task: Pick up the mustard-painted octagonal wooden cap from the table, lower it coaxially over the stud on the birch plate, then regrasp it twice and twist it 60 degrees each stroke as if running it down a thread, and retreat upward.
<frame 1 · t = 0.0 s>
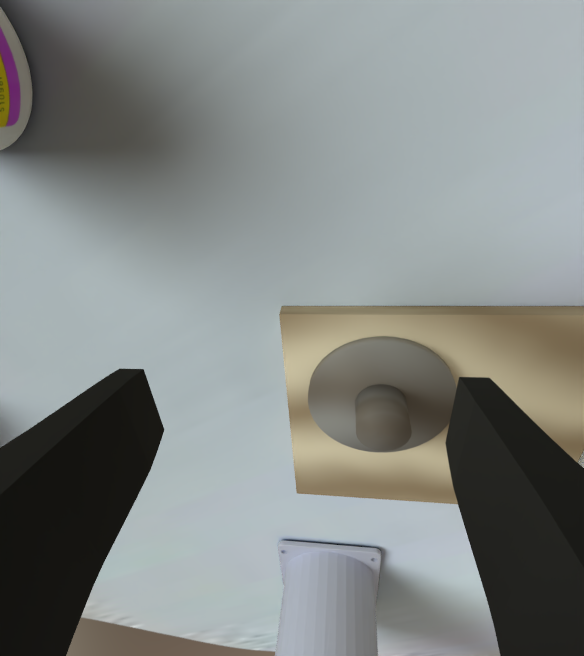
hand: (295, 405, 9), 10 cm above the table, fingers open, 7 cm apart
stud plate: (430, 414, 22), on the table
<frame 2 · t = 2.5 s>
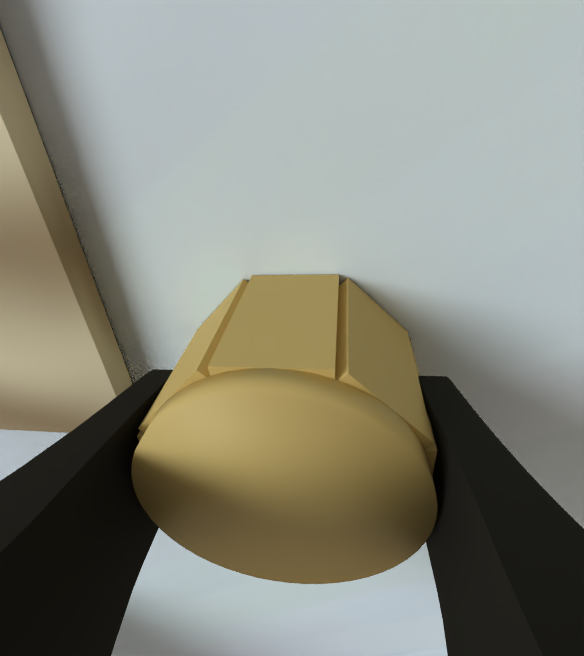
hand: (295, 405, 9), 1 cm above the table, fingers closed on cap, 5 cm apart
cap: (301, 368, 10), on the table, touching gripper
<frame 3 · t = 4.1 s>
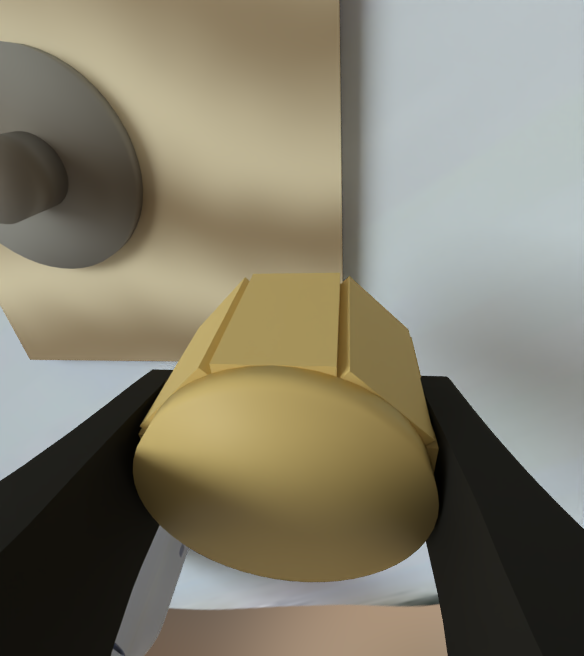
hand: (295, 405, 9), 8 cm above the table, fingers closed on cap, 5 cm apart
stud plate: (143, 211, 16), on the table
cap: (302, 366, 10), point 7 cm above the table, touching gripper
when the fingers open (4 cm above the table, at t = 6.1 s): cap drops 1 cm, resting on stud plate.
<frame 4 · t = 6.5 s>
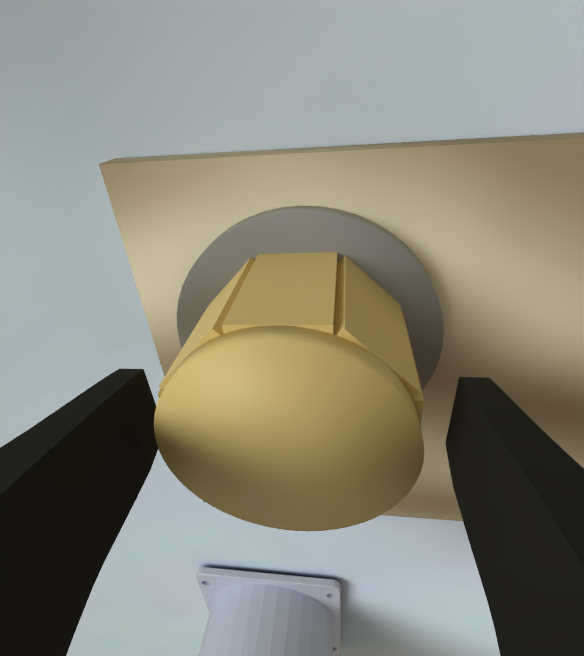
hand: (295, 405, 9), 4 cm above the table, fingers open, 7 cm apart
stud plate: (400, 370, 13), on the table
cap: (303, 341, 11), point 1 cm above the table, touching stud plate
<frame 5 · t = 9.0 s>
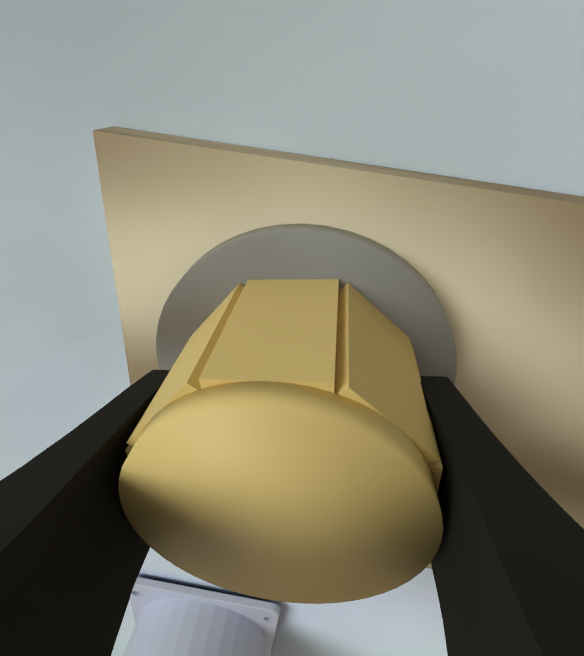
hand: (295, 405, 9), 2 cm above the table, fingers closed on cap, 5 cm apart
stud plate: (391, 412, 12), on the table
cap: (299, 375, 10), point 1 cm above the table, touching gripper
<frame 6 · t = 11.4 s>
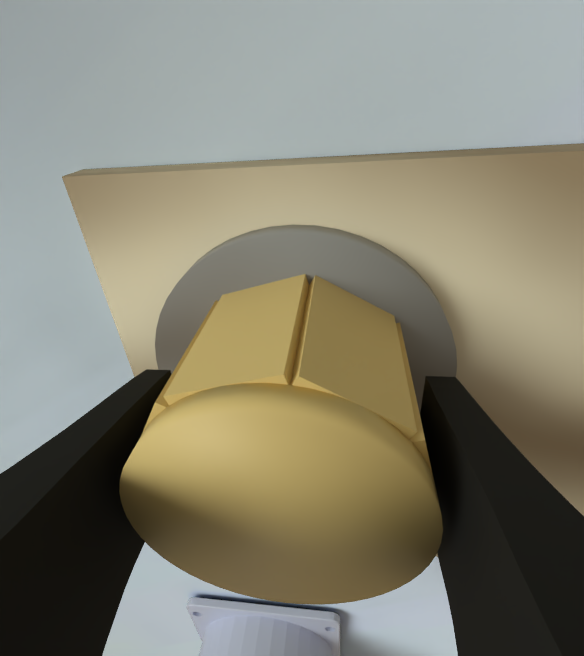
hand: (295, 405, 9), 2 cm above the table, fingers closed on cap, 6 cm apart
stud plate: (406, 402, 12), on the table
cap: (299, 376, 10), point 1 cm above the table, touching gripper, stud plate
when the fingers open (3 cm above the table, at t = 13.1 s): cap stays where it is, resting on stud plate.
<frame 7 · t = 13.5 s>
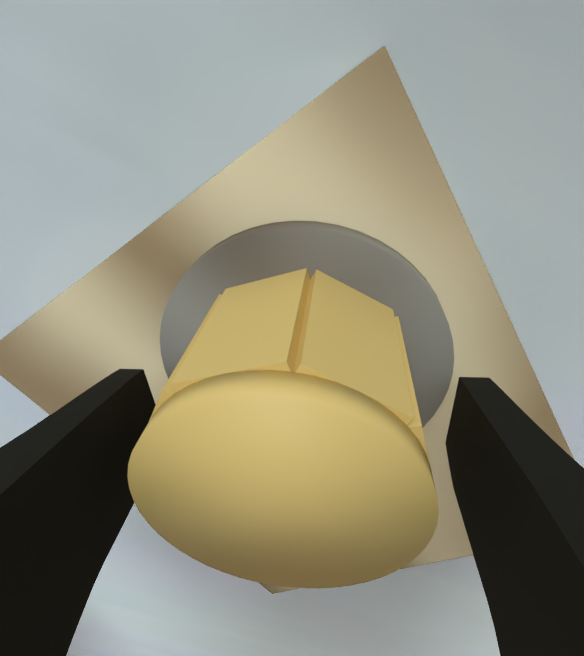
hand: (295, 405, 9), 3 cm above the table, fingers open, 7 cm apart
stud plate: (304, 427, 13), on the table
cap: (300, 369, 10), point 1 cm above the table, touching stud plate
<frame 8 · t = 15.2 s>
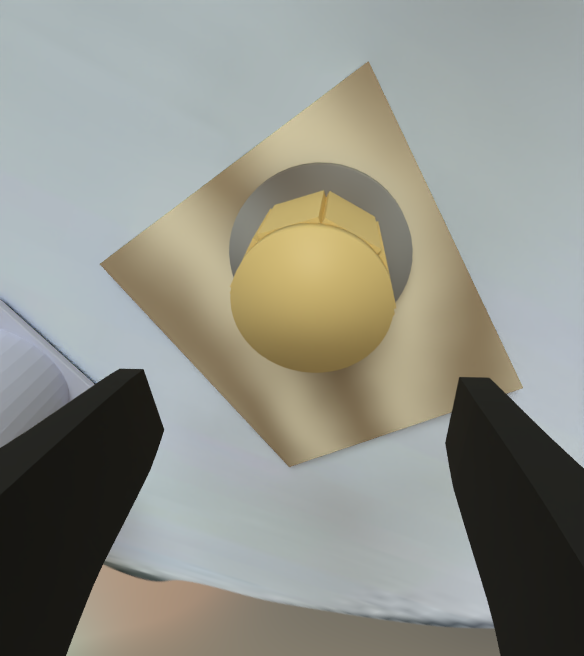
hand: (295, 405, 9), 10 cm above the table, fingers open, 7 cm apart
stud plate: (317, 318, 19), on the table
cap: (317, 261, 16), point 1 cm above the table, touching stud plate
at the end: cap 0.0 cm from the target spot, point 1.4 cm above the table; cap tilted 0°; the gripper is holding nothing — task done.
